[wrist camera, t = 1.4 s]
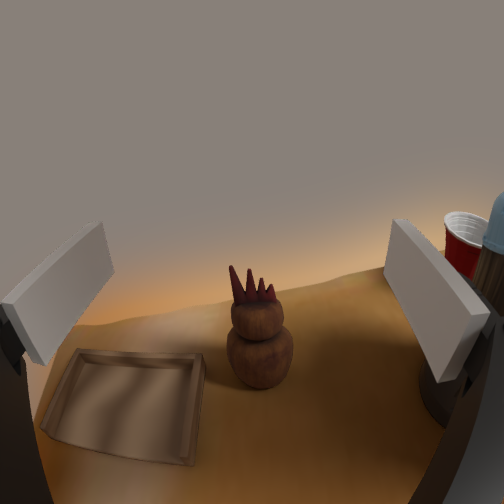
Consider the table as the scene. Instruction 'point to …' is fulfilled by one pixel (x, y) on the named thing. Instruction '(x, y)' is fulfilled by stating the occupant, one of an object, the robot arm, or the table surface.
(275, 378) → the wooden figurine
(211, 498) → the table surface
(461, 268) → the plastic cup
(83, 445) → the tray
